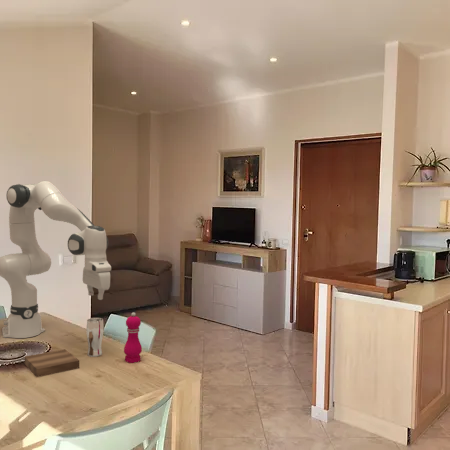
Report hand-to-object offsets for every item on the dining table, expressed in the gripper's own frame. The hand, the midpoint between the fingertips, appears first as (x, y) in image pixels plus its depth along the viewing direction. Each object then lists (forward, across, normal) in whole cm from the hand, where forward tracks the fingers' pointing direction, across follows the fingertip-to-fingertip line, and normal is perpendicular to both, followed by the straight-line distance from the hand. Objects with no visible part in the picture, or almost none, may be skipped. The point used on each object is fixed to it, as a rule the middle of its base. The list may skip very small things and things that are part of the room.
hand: (95, 297), depth 196 cm
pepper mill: (+25, +15, +10) cm, 31 cm away
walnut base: (+24, +3, -19) cm, 31 cm away
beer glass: (+25, 0, 0) cm, 25 cm away
